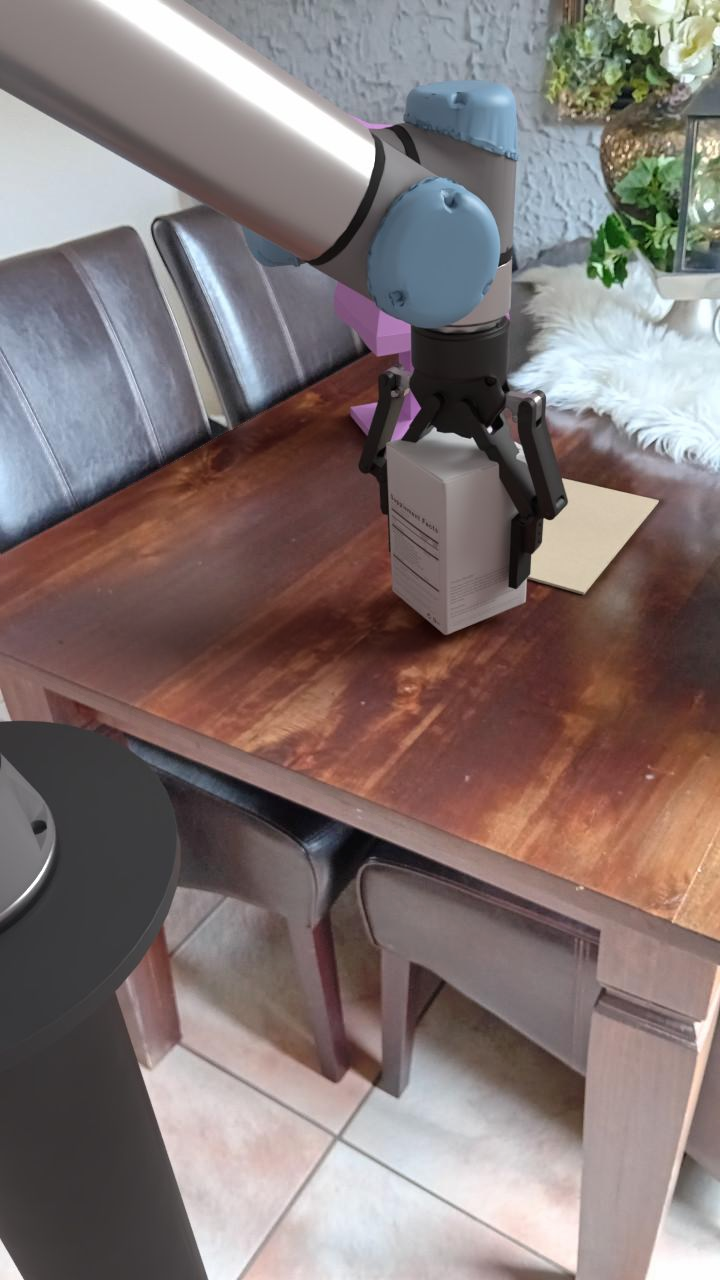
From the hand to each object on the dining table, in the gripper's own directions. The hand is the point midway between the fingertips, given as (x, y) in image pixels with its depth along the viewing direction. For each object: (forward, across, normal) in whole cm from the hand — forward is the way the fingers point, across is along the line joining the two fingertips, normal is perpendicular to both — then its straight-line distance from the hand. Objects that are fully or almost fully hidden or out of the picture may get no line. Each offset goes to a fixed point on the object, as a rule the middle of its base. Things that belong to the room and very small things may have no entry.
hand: (458, 563), depth 88 cm
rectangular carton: (+4, 0, 0) cm, 4 cm away
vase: (+5, +23, -33) cm, 41 cm away
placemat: (+5, 0, -18) cm, 19 cm away
